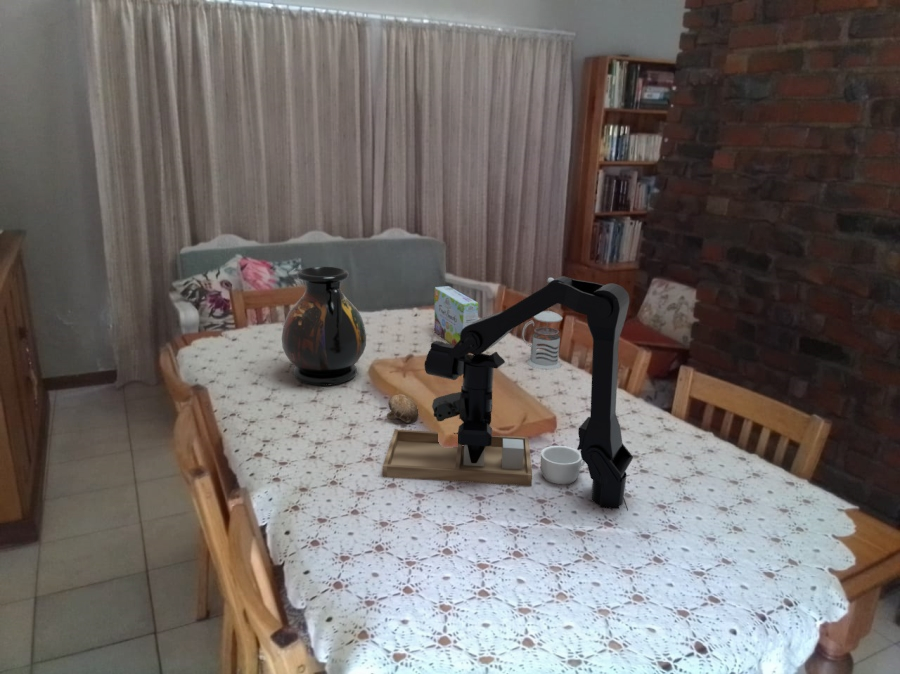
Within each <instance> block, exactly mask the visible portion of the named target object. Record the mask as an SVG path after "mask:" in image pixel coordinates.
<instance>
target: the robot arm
mask: <svg viewBox="0 0 900 674" xmlns="http://www.w3.org/2000/svg"><path fill="white" fill-rule="evenodd" d="M557 304H558V305H562V306H564V307H566V308H568V309H570V310H572V311H574V312H575V313H577V314H581V315H584V316H586V321H587V327H588V330H589V332H590V335H591V338H592V361H591V362H592V363H591V365H592V366H591V391H590V416H588V417H587V418H586V419H585V420H584V422H583V423H582V424H581V425H580V426H579V427H578V429H577V430H578V441H579V442H578V445H577V448H576V450H577V451H580V453H581V457H582V462H583V461H585V464H586V465H587V469H588V472H589V476H590V478H591V480H592V484H591V485H592V487H591V494H590V499H591V500H592V501H593V503H595V504H596V505H597V506H599V508H601V509H611V510H612V509H613V510H619V509H620V506H622V505H623V504H624V505H625V508H626V511H627V512H628V511H629V509H628V506H627V503H626V499H625V492H626V491H625V490H626V483H627V482H626V481H627V472H626V471H627V469H628V467H629V466H630V464H631V462H632V461H633V459H634V456H633V455H632V453H631V452H630V451H629V450H628V449H627V447H626V446H625V445H624V443H623V437H622V430H621V425H620V422H619V419H618V417H617V413H616V412H617V411H616V410H617V409H616V407H617V393H618V392H617V390H618V373H619V372H618V368H619V349H620V348H619V347H620V336H621V334H622V330H623V328H624V325H625V322H626V319H627V315H628V309H629V305H630V295H629V292H628V291H627V290H626V289H625V288H624V287H623V286H621V285H620V284H616V283H613V282H612V283H606V284H601V283H598V282H593V281H588V280H587V281H586V280H579V279H574V278H572V277H567V276H565V275H564V276H558V277H557V278H554V280H553V281H551V282H548V284H547V285H545V286H544V287H542V288H541V289H539V290H537V291H536V292H533V293H532V294H530V295H529V296H527V297H525V298H523V299H521V300H520V301H518V302H517V303H515V304H513V305H512V306H510V307H508V308H507V309H505V310H502V311H500V312H496V313H492V314H490V315H488V316H484V317H482V318H478V320H477V321H475V322H473V323H472V324H470V325H468V326H466V327H464V328H463V329H462V331H461V336H460V340H459V342H458V343H457V344H456V345H452V344H450V343H446V342H443V341H439V340H435V341H433V342H432V343H430V349H429V351H428V353H427V355H426V357H425V360H424V372H425V373H426V374H427V375H429V376H433V377H438V378H443V379H448V380H451V381H455V380H457V379H458V378H459V377H462V385H461V386H460V387H461V388H460V391H458V392H453V393H448V394H445V395H441V396H438V397H435V398H433V400H432V401H433V402H432V404H431V407H432V410H433V417H435V419H436V421H437V422H443V421H445V420H448V419H451V418H454V417H457V416H459V418H458V419H459V420H461V421H462V423H461V424H460V425H458V431H457V433H458V444H460V445H468V450H469V455H470V460H471V463H477V462H478V460H479V458H480V456H481V454H482V452H483V451H484V449H485V447H486V446H490V445H491V441H492V435H493V429H492V426H490V425H491V423H492V412H493V385H494V369H496V370H497V369H498V368H500V367H501V366H503V365H504V364H505V363H506V361H505V359H504V358H503V357H502V356H501V355H499V353H498V352H497V351H495V352H493V353H491V354H488V353H484V352H486V351H488V350H489V349H490V348H493V347H494V346H495V345H497V344H498V343H499V342H500V341H501V340H503V339H504V338H505V337H506V336H508V334H509V333H510V332H511V331H512V330H514V328H516V327H518V326H520V325H522V324H524V323H525V322H528V320H530V319H532V318H534V316H536V315H537V314H539V313H541V312H543V311H547V310H548V308H549V309H550V308H551V307H554V306H555V305H557Z"/></svg>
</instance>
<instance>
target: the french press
mask: <svg viewBox="0 0 900 674" xmlns="http://www.w3.org/2000/svg"><path fill="white" fill-rule="evenodd" d="M553 280H555V278H554V277H548V278H547V283H550V282H551V281H553ZM549 309H550V308H548V309H547V310H544V311H543V312H541V313H539V314H537V315H536V316H534V317H533V319H534V320H535V321H538V322H542V323H546V326H544V327H542V326H541V327H536V328H534V329H533V331H534V333H533V334H532V340H531V341H532V343H528V342H527V340H526V339H525V337H524V336H525V331H526V328H527V327H528V326H529V325H531V324H532V326H533V327H535V321H534V320H530V321H527V323H525V324H524V326H523V329H522V334H521V335H522V339H523V341H524V342H523V343H525V344H526V346H528V347H529V348H530V358H529V359H527V361H526V362H527V363H526V364H527V365H528V366H530V367H532V368H535V369H538V370H539V369H540V370H556V369H559V368H560V367H562V363H561V362H560V360H559V355H560V343H561V336H560V335H559V334H560V331H559V330H558V329H556V328H553V327H548V324H549V323H559V322H561V321H563V316H562V315H560V314H559V313H557V312H554V311H551V310H549ZM540 336H543V337H540ZM538 337H539V338H538ZM546 338H547V339H546ZM548 339H549V340H548Z"/></svg>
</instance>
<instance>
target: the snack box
mask: <svg viewBox="0 0 900 674" xmlns="http://www.w3.org/2000/svg"><path fill="white" fill-rule="evenodd" d="M478 317H479V302H478V301H476V300H474V299H472V298H471V297H469V296H467V295H465V294H463V293H461V292H460V291H458V290H456V289H454V288H453V287H451V286H449V285H447V286H446V285H445V286H435V287H434V333H435V334H437V335H439V336H440V337H441V338H442V339H444V340H445V341H446V342H447V343H448V344H451V345H456V344H457V343H458V342H459V340H460V336H461V331H462V329H463V328H464V327H466V326H468V325H470V324H472V323H473V322H475V321H477V320H479V318H478Z"/></svg>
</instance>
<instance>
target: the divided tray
mask: <svg viewBox="0 0 900 674" xmlns="http://www.w3.org/2000/svg"><path fill="white" fill-rule="evenodd" d="M438 432H439V431H431V430H430V431H429V430H426V431H425V430H411V429H398V428H397V429H395V428H394V430H393V434H392V436H391V440H390V442H389V445H388V449H387V451H386V455H385V458H384V461H383V463H382V477H383V478H395V479H396V478H398V479H399V478H400V479H411V480H412V479H413V480H427V481H428V480H429V481H444V482H445V481H446V482H458V483H459V482H463V483H477V484H478V483H479V484H493V485H506V486H507V485H509V486H524V487H525V486H526V487H527V486H528V487H532V486H533V467H532V459H531V449H530V447H531V446H530V439H529V437H528V436H513V435H500V436H492V441H491V445H490V446H486V447H485V454H484V466H468V465H463V463H464V446H462V445H460V444H458V447H453V448H444V447H442V446H441V445H440V444H439V442H438ZM503 438H504V439H521V440H523V445H524V453H523V467H522V470H520V469H504V468H502V445H503Z"/></svg>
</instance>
